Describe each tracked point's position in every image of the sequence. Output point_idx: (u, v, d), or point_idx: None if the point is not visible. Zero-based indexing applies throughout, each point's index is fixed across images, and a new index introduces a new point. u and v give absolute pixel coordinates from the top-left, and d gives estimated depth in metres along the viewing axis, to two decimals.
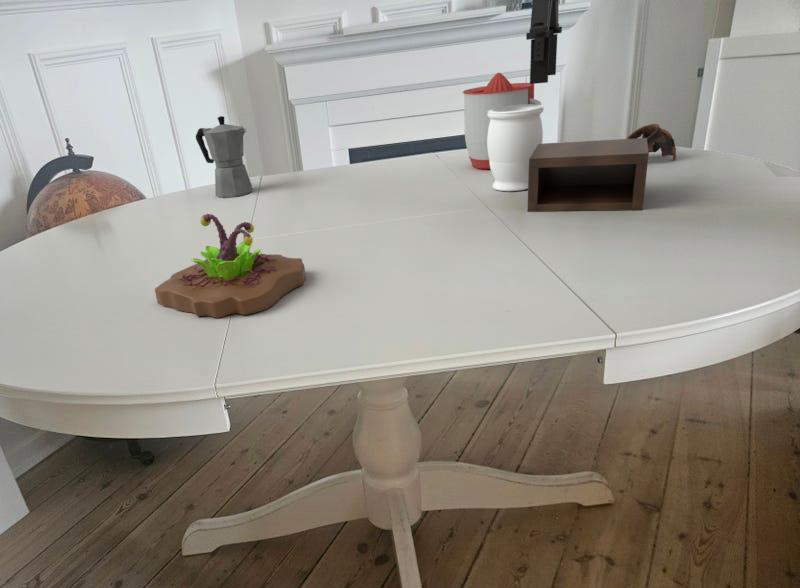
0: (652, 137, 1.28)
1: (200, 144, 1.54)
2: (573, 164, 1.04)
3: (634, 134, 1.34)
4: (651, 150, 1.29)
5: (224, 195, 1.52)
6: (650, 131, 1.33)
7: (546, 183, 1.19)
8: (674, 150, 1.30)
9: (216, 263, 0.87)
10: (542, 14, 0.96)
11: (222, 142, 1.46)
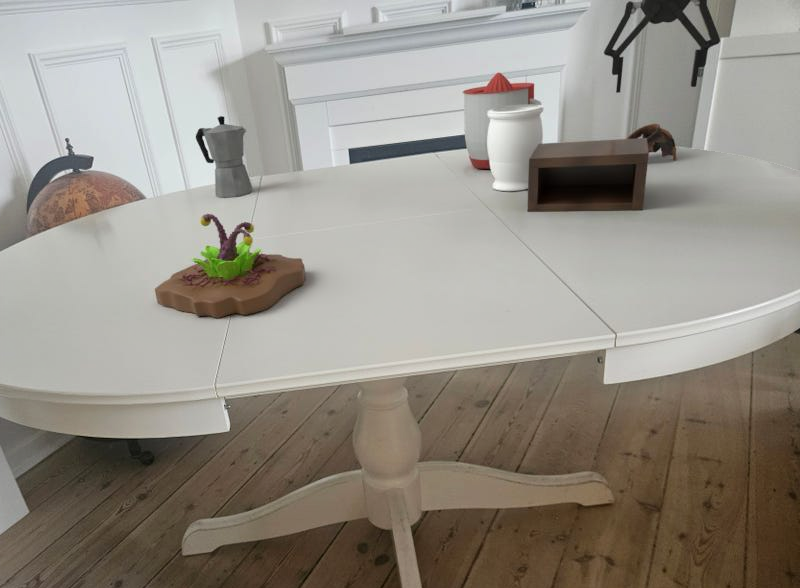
0: (652, 137, 1.28)
1: (200, 144, 1.54)
2: (573, 164, 1.04)
3: (634, 134, 1.34)
4: (651, 150, 1.29)
5: (224, 195, 1.52)
6: (650, 131, 1.33)
7: (546, 183, 1.19)
8: (674, 150, 1.30)
9: (216, 263, 0.87)
10: None
11: (222, 142, 1.46)
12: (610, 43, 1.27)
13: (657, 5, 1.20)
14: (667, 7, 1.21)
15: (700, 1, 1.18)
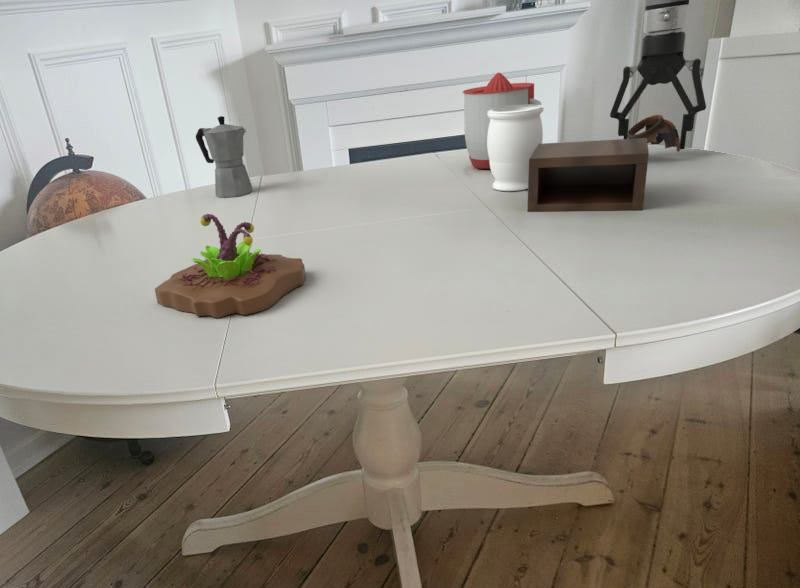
0: (655, 128, 1.27)
1: (200, 144, 1.54)
2: (573, 164, 1.04)
3: (637, 126, 1.33)
4: (655, 141, 1.27)
5: (224, 195, 1.52)
6: (653, 123, 1.32)
7: (546, 183, 1.19)
8: (678, 141, 1.29)
9: (216, 263, 0.87)
10: None
11: (222, 142, 1.46)
12: (614, 106, 1.32)
13: (653, 68, 1.26)
14: (663, 69, 1.26)
15: (693, 67, 1.24)
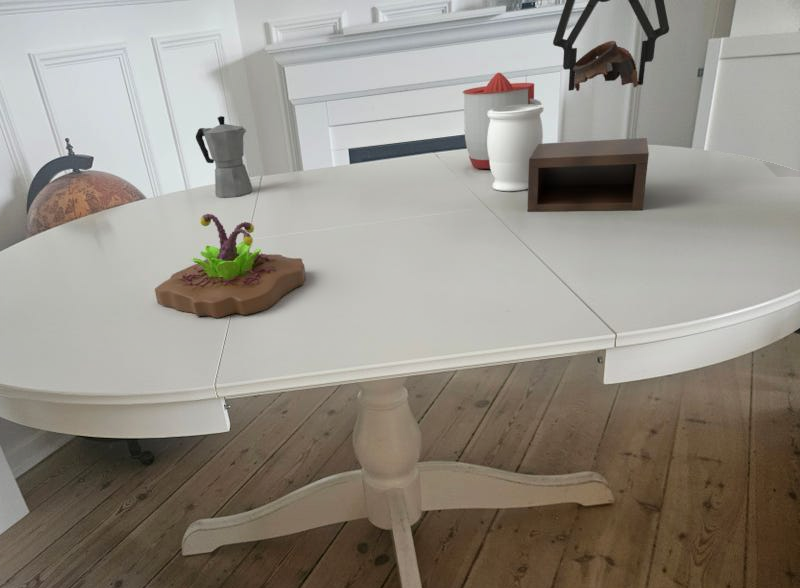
0: (606, 56, 1.02)
1: (200, 144, 1.54)
2: (573, 164, 1.04)
3: (586, 56, 1.07)
4: (605, 72, 1.02)
5: (224, 195, 1.52)
6: None
7: (546, 183, 1.19)
8: (635, 74, 1.04)
9: (216, 263, 0.87)
10: None
11: (222, 142, 1.46)
12: (558, 31, 1.06)
13: None
14: None
15: None
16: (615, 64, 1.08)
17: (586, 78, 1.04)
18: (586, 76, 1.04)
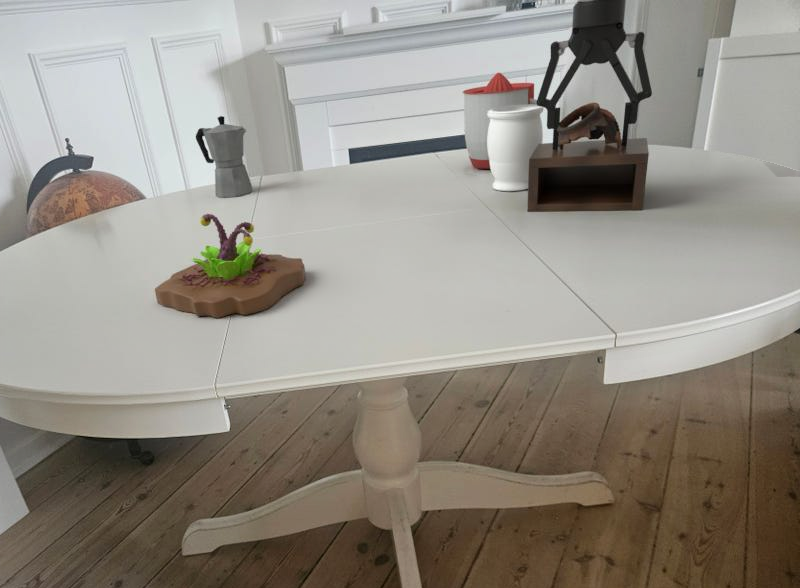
0: (589, 119, 1.01)
1: (200, 144, 1.54)
2: (573, 164, 1.04)
3: (570, 116, 1.07)
4: (588, 135, 1.02)
5: (224, 195, 1.52)
6: (590, 112, 1.07)
7: (546, 183, 1.19)
8: (618, 136, 1.03)
9: (216, 263, 0.87)
10: None
11: (222, 142, 1.46)
12: (541, 92, 1.06)
13: (586, 43, 1.00)
14: (598, 45, 1.00)
15: (636, 42, 0.98)
16: None
17: (570, 140, 1.04)
18: (570, 138, 1.04)
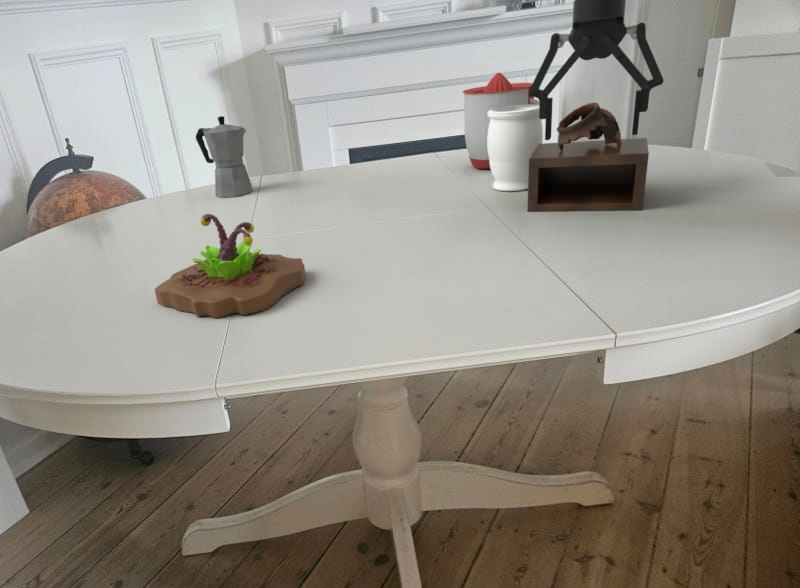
0: (589, 119, 1.01)
1: (200, 144, 1.54)
2: (573, 164, 1.04)
3: (570, 116, 1.07)
4: (588, 135, 1.02)
5: (224, 195, 1.52)
6: (590, 112, 1.07)
7: (546, 183, 1.19)
8: (618, 136, 1.03)
9: (216, 263, 0.87)
10: None
11: (222, 142, 1.46)
12: (535, 82, 1.06)
13: (587, 38, 0.99)
14: (599, 40, 0.99)
15: (638, 34, 0.97)
16: None
17: (570, 140, 1.04)
18: (570, 138, 1.04)
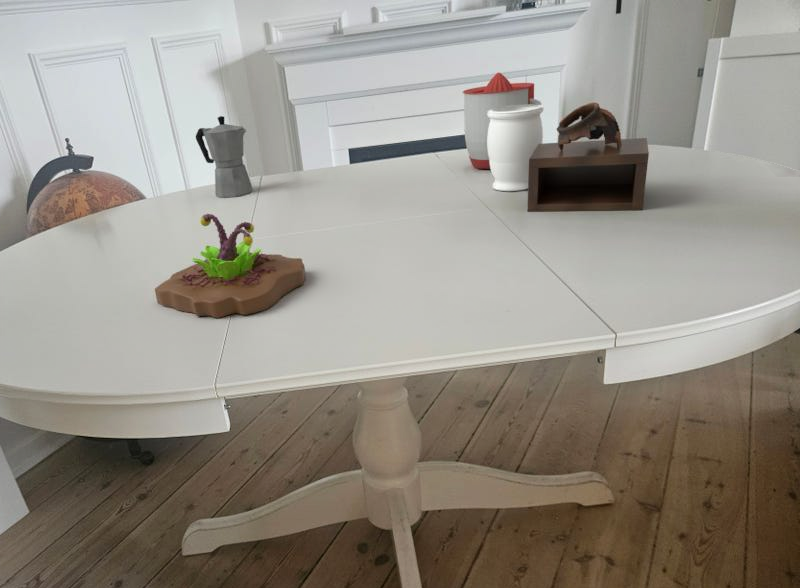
0: (589, 119, 1.01)
1: (200, 144, 1.54)
2: (573, 164, 1.04)
3: (570, 116, 1.07)
4: (588, 135, 1.02)
5: (224, 195, 1.52)
6: (590, 112, 1.06)
7: (546, 183, 1.19)
8: (618, 136, 1.03)
9: (216, 263, 0.87)
10: None
11: (222, 142, 1.46)
12: None
13: None
14: None
15: None
16: None
17: (570, 140, 1.04)
18: (570, 138, 1.04)
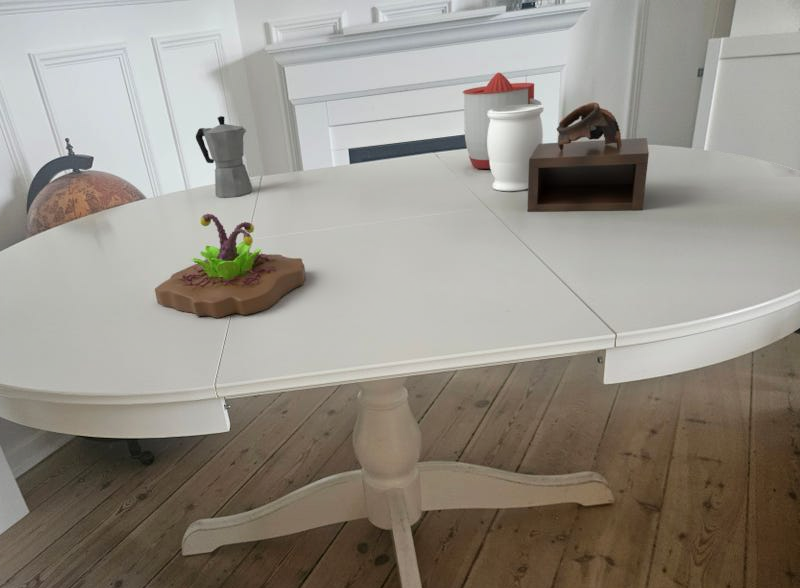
0: (589, 119, 1.01)
1: (200, 144, 1.54)
2: (573, 164, 1.04)
3: (570, 116, 1.07)
4: (588, 135, 1.02)
5: (224, 195, 1.52)
6: (590, 112, 1.06)
7: (546, 183, 1.19)
8: (618, 136, 1.03)
9: (216, 263, 0.87)
10: None
11: (222, 142, 1.46)
12: None
13: None
14: None
15: None
16: None
17: (570, 140, 1.04)
18: (570, 138, 1.04)
